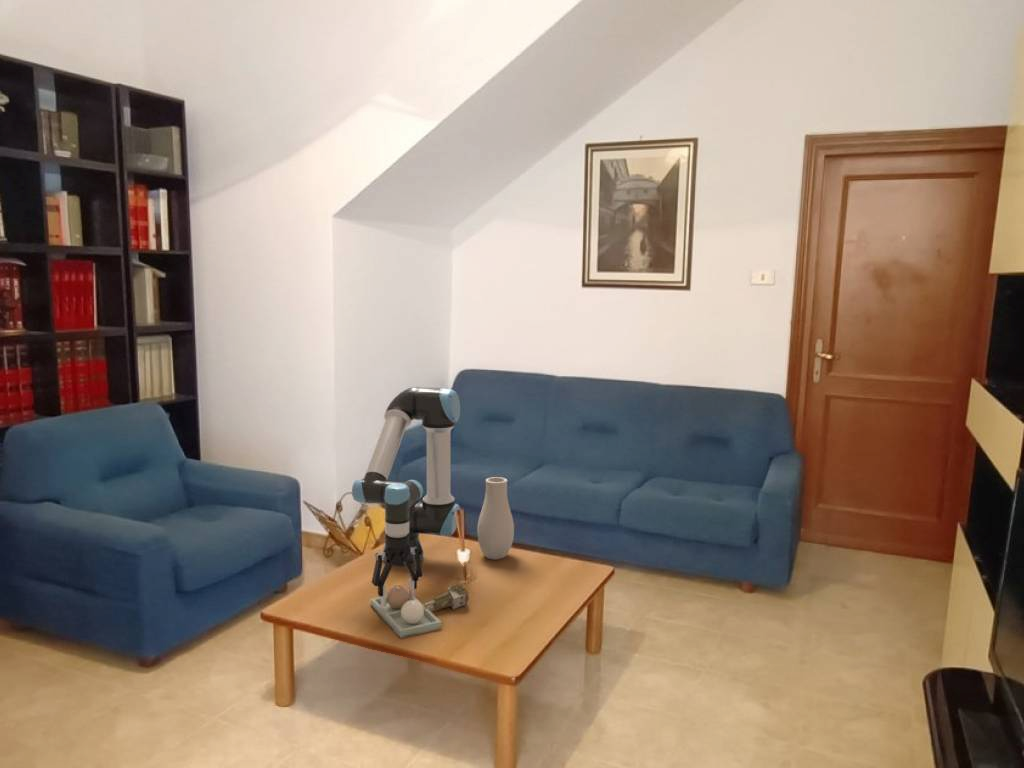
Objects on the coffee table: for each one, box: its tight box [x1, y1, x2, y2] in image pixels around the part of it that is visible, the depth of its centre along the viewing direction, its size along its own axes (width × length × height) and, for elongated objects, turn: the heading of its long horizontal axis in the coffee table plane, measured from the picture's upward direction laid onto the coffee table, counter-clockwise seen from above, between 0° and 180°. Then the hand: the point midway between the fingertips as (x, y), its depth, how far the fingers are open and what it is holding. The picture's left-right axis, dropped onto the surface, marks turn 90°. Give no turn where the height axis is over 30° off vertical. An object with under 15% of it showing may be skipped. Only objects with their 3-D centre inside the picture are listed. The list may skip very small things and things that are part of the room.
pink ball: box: [386, 585, 409, 609], centre depth 243 cm, size 7×7×7 cm
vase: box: [476, 476, 515, 561], centre depth 287 cm, size 14×14×30 cm
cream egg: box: [401, 600, 424, 624], centre depth 233 cm, size 7×7×7 cm
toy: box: [423, 582, 470, 612], centre depth 245 cm, size 7×7×15 cm
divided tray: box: [370, 590, 442, 639], centre depth 239 cm, size 13×25×2 cm, turn 30°
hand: (397, 602), depth 244 cm, fingers open, 9 cm apart
